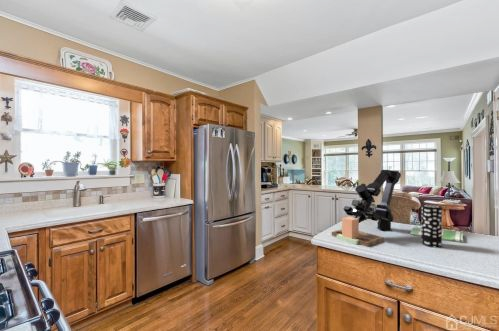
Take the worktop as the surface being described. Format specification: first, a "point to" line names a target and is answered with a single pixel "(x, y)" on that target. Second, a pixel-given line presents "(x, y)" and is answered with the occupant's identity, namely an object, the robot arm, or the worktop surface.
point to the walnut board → (363, 238)
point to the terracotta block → (350, 227)
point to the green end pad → (347, 239)
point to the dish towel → (446, 234)
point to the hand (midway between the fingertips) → (353, 225)
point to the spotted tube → (431, 226)
